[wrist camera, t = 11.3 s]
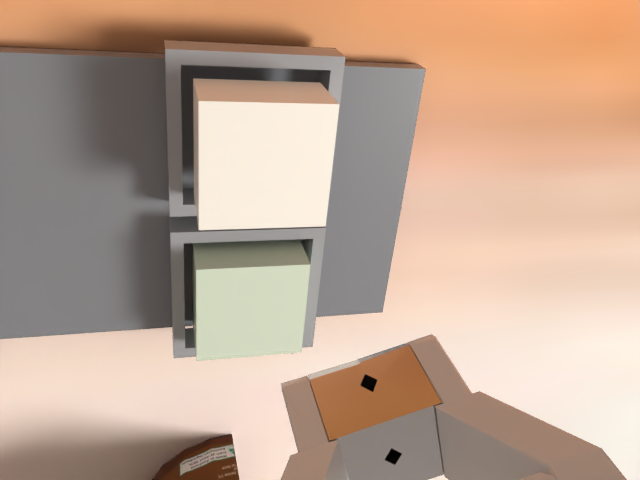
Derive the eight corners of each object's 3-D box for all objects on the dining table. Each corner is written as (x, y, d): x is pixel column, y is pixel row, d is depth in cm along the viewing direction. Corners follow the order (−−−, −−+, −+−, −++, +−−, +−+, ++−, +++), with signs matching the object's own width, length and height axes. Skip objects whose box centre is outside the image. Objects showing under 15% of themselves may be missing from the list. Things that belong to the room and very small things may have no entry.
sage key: (289, 316, 29) (301, 352, 26) (192, 323, 27) (196, 361, 25) (297, 233, 26) (310, 264, 24) (192, 236, 25) (196, 269, 23)
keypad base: (375, 313, 31) (389, 340, 29) (-293, 360, 24) (-330, 400, 22) (421, 47, 25) (443, 61, 23) (-475, 3, 17) (-548, 17, 16)
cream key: (309, 195, 24) (325, 226, 22) (193, 197, 23) (198, 230, 21) (320, 82, 22) (339, 104, 20) (193, 78, 21) (198, 101, 18)
